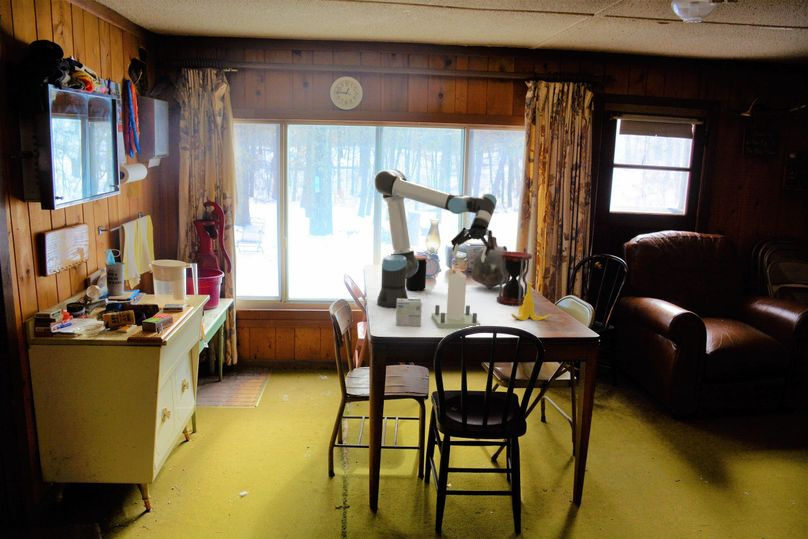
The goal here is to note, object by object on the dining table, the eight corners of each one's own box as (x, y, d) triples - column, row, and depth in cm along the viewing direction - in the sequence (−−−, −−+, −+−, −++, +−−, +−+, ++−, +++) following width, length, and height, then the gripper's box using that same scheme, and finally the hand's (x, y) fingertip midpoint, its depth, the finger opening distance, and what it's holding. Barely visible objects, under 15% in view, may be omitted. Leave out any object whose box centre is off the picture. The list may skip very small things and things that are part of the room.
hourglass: (491, 299, 330) (494, 251, 326) (519, 298, 335) (522, 251, 330) (505, 306, 315) (508, 256, 310) (534, 305, 320) (538, 256, 315)
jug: (518, 292, 350) (522, 237, 345) (483, 293, 343) (487, 238, 337) (495, 283, 373) (499, 232, 368) (463, 284, 365) (466, 232, 360)
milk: (446, 318, 277) (448, 268, 274) (451, 316, 283) (453, 267, 279) (459, 320, 275) (462, 270, 271) (464, 317, 280) (466, 268, 276)
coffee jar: (425, 288, 351) (427, 255, 348) (424, 292, 341) (426, 258, 338) (406, 286, 352) (407, 254, 349) (404, 290, 342) (406, 257, 339)
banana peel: (510, 321, 287) (512, 284, 284) (518, 312, 304) (521, 277, 301) (547, 326, 281) (550, 288, 278) (553, 316, 298) (556, 281, 295)
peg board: (438, 328, 269) (438, 314, 268) (431, 317, 287) (432, 304, 286) (480, 328, 271) (480, 314, 270) (470, 317, 289) (471, 304, 288)
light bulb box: (420, 322, 277) (421, 298, 275) (421, 326, 271) (422, 301, 269) (395, 322, 277) (396, 297, 275) (396, 326, 270) (396, 301, 268)
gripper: (508, 230, 292) (495, 267, 282) (457, 225, 303) (443, 260, 292) (505, 219, 287) (493, 256, 276) (454, 214, 297) (439, 250, 286)
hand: (467, 258), depth 284 cm, fingers open, 13 cm apart
